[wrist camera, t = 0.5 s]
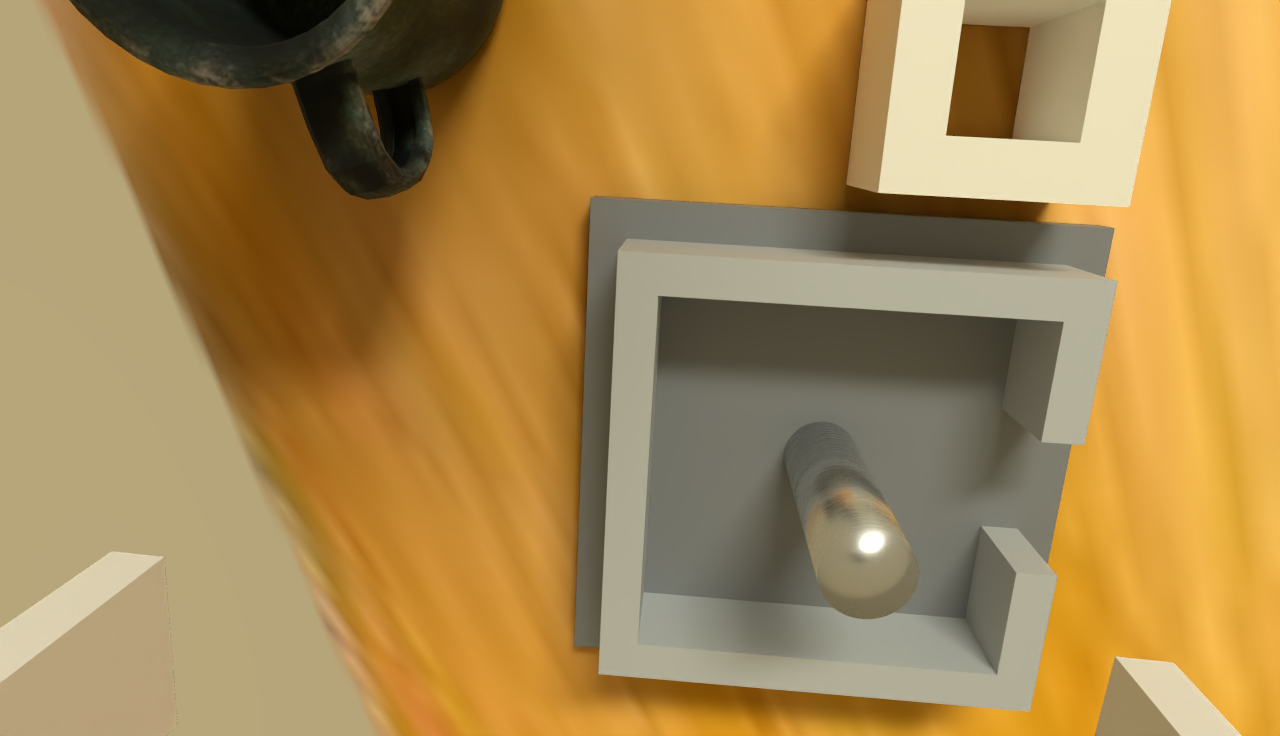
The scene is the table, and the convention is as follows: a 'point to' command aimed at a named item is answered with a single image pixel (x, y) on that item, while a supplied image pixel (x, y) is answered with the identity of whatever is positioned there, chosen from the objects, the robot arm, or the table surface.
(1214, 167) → the table surface
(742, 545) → the grey walled tray
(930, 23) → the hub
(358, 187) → the mug
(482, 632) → the table surface
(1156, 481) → the table surface
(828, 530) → the post
